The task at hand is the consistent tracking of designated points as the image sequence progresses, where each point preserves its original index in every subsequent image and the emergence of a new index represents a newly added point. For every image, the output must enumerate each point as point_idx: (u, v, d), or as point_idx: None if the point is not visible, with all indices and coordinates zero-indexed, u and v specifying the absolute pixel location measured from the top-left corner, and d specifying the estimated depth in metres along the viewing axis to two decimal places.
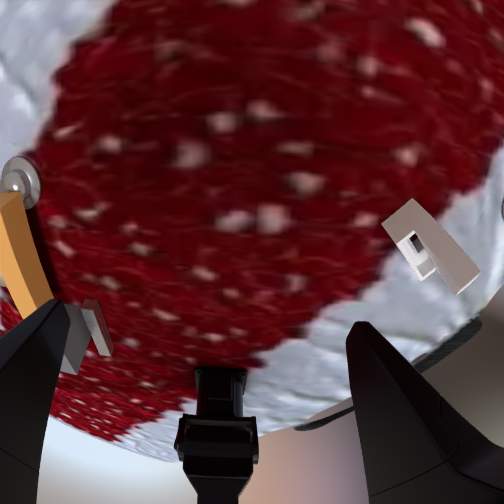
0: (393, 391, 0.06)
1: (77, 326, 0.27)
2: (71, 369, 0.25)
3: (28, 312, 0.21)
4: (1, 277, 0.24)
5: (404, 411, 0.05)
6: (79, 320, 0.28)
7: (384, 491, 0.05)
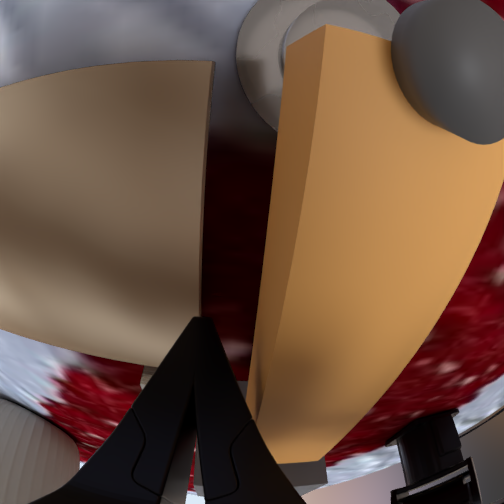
0: None
1: None
2: (299, 494, 0.12)
3: (289, 451, 0.08)
4: (100, 340, 0.11)
5: (196, 424, 0.05)
6: None
7: None
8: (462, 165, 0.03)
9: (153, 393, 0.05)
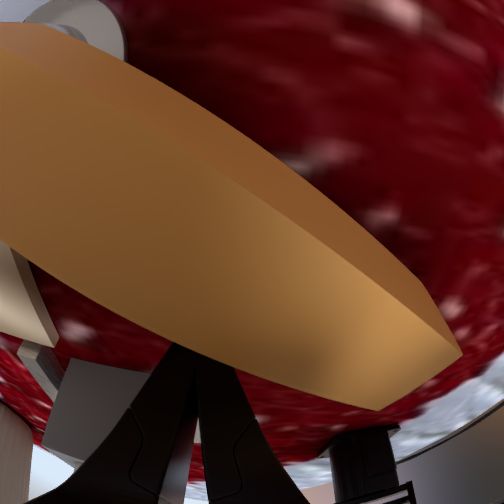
0: None
1: None
2: None
3: (383, 373, 0.06)
4: None
5: (199, 425, 0.05)
6: None
7: None
8: None
9: (151, 393, 0.05)
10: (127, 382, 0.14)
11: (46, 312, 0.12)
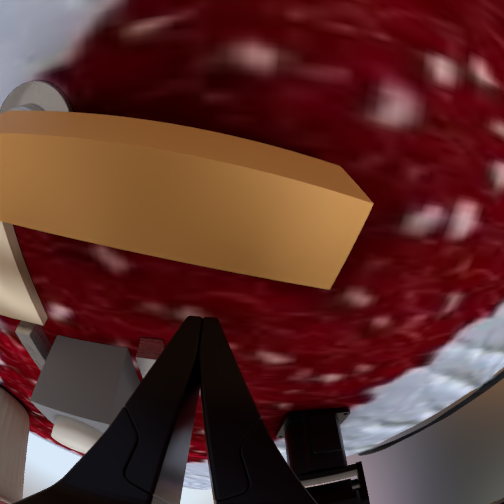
0: None
1: (125, 379, 0.17)
2: None
3: (284, 237, 0.08)
4: None
5: (205, 425, 0.05)
6: (127, 369, 0.18)
7: None
8: None
9: (147, 392, 0.05)
10: (97, 352, 0.17)
11: (37, 297, 0.15)
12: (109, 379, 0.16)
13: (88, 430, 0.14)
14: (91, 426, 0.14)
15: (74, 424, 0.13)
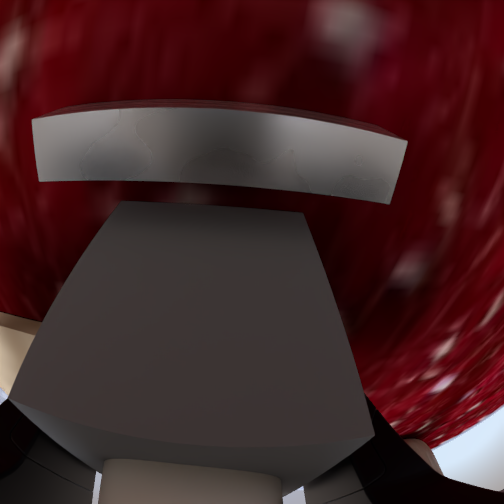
0: None
1: (146, 241, 0.06)
2: (289, 452, 0.03)
3: None
4: None
5: None
6: (149, 223, 0.07)
7: None
8: None
9: None
10: None
11: None
12: None
13: (112, 478, 0.03)
14: (125, 461, 0.04)
15: None
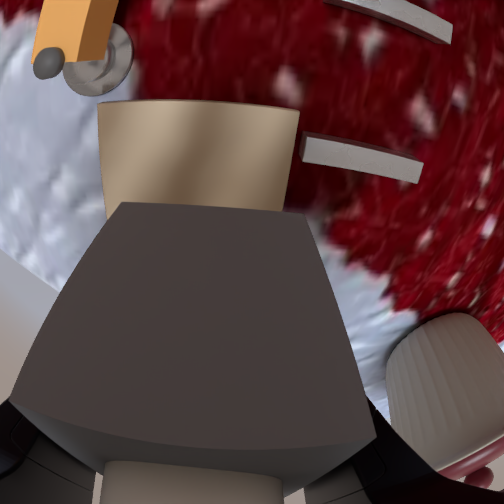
0: None
1: (147, 243, 0.06)
2: (290, 453, 0.03)
3: None
4: (264, 180, 0.18)
5: None
6: (150, 224, 0.07)
7: None
8: (48, 40, 0.08)
9: None
10: None
11: (264, 105, 0.16)
12: None
13: (113, 479, 0.03)
14: (127, 463, 0.04)
15: (103, 481, 0.04)
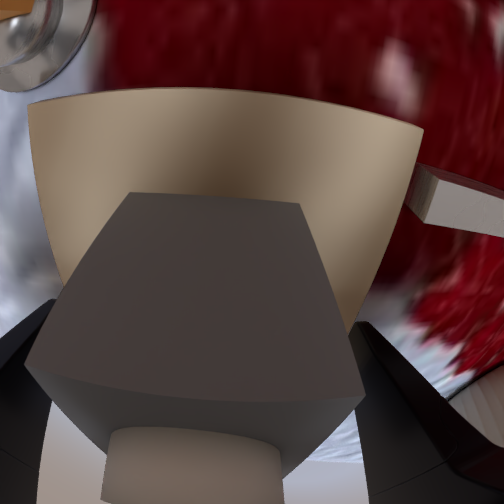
0: (393, 391, 0.06)
1: (154, 227, 0.07)
2: (286, 410, 0.04)
3: None
4: (349, 250, 0.09)
5: (404, 411, 0.05)
6: (157, 211, 0.07)
7: (384, 491, 0.05)
8: None
9: None
10: None
11: (358, 109, 0.07)
12: None
13: (119, 447, 0.04)
14: (132, 430, 0.04)
15: None
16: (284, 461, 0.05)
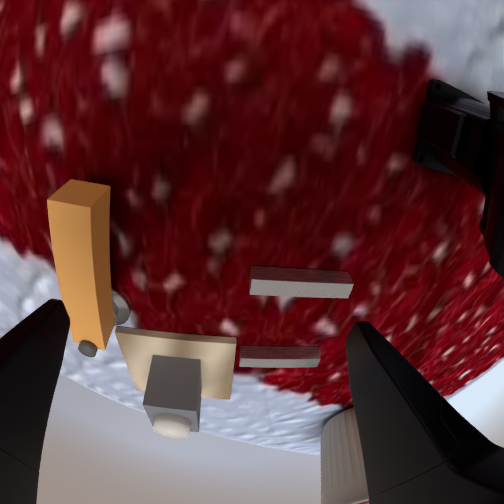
0: (393, 391, 0.06)
1: (162, 371, 0.26)
2: (184, 411, 0.23)
3: (70, 233, 0.15)
4: (219, 368, 0.29)
5: (404, 411, 0.05)
6: (161, 364, 0.27)
7: (384, 491, 0.05)
8: (81, 335, 0.20)
9: None
10: None
11: (215, 337, 0.27)
12: None
13: (158, 417, 0.24)
14: (160, 413, 0.24)
15: (154, 419, 0.24)
16: (193, 423, 0.25)
